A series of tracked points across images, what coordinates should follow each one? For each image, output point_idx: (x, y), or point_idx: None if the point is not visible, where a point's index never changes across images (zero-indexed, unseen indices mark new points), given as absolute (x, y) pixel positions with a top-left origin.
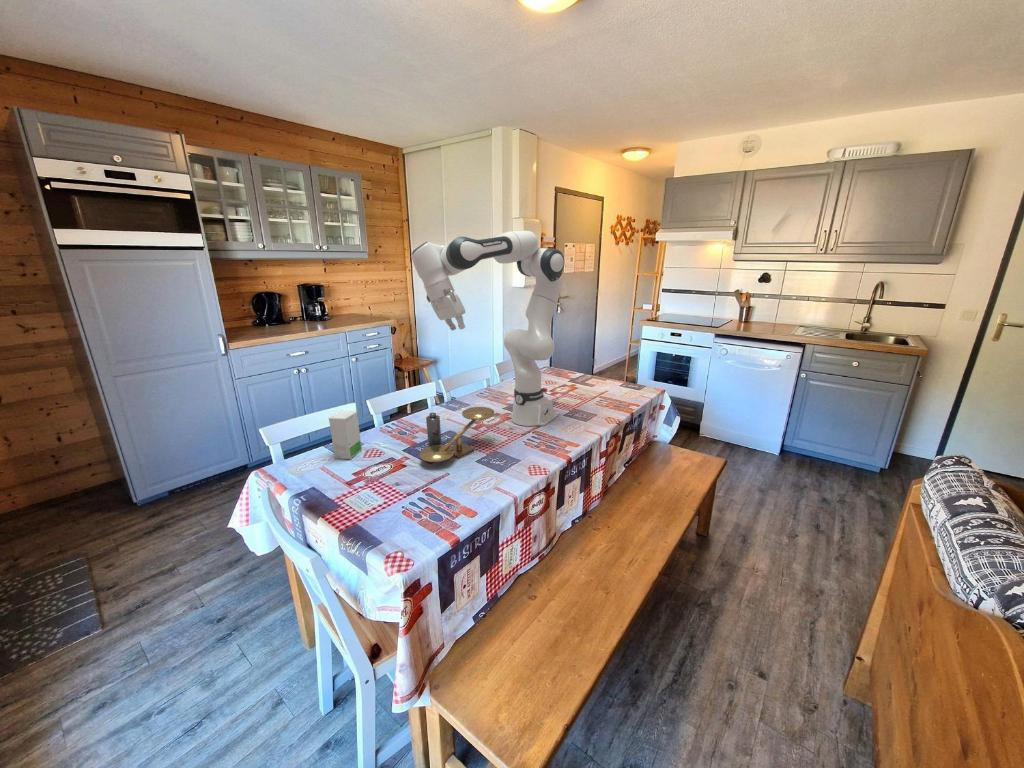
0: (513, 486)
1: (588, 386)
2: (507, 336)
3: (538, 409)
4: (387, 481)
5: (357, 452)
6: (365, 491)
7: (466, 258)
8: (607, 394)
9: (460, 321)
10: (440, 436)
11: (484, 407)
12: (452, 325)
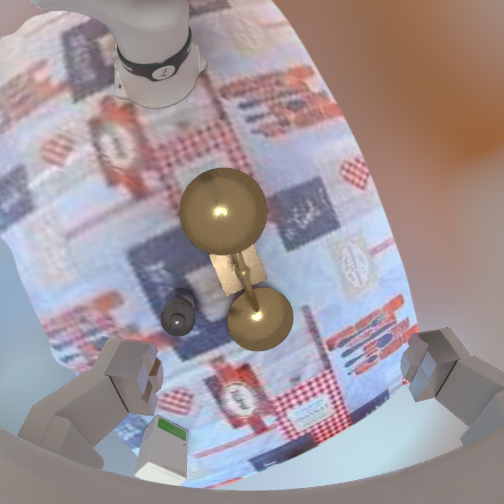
0: (378, 228)
1: None
2: None
3: (197, 53)
4: (281, 390)
5: (169, 422)
6: (292, 413)
7: None
8: None
9: (480, 391)
10: (188, 295)
11: (196, 181)
12: (139, 395)
